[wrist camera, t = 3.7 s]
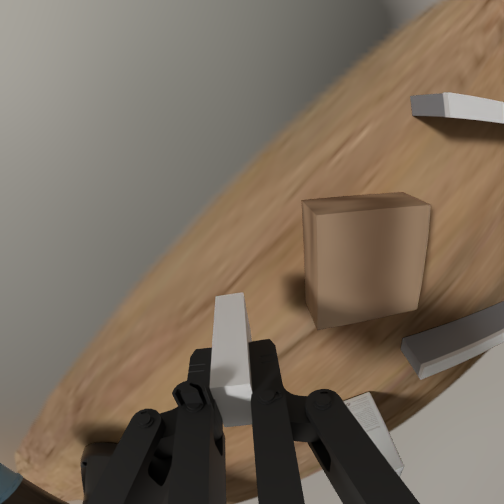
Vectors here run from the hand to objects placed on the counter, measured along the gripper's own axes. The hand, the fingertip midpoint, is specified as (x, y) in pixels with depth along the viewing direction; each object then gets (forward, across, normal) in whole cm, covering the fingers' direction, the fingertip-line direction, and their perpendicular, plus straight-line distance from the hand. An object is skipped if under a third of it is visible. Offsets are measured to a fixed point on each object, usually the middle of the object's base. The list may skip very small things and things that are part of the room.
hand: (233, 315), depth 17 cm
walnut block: (+6, +9, 0) cm, 11 cm away
